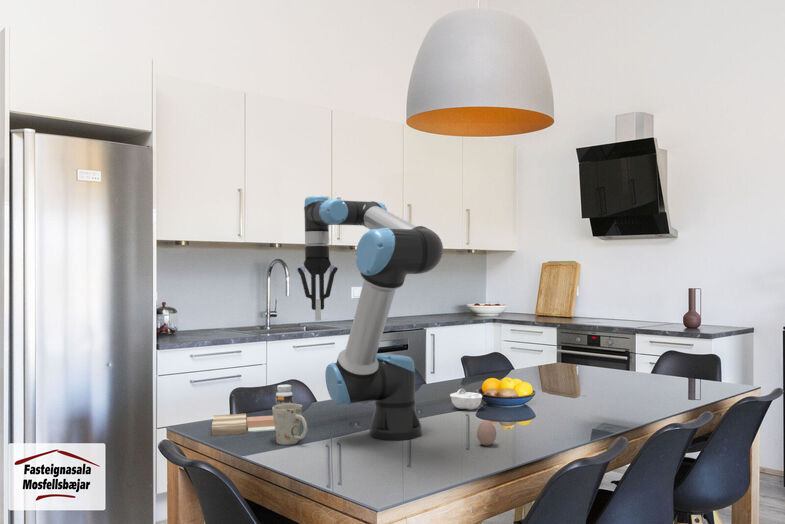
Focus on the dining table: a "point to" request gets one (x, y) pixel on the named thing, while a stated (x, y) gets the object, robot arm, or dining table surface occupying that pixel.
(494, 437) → the egg
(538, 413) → the dining table surface
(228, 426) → the tan wooden flat block
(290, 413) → the mug
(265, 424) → the tile
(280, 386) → the pill bottle
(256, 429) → the mat
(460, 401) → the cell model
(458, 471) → the dining table surface
